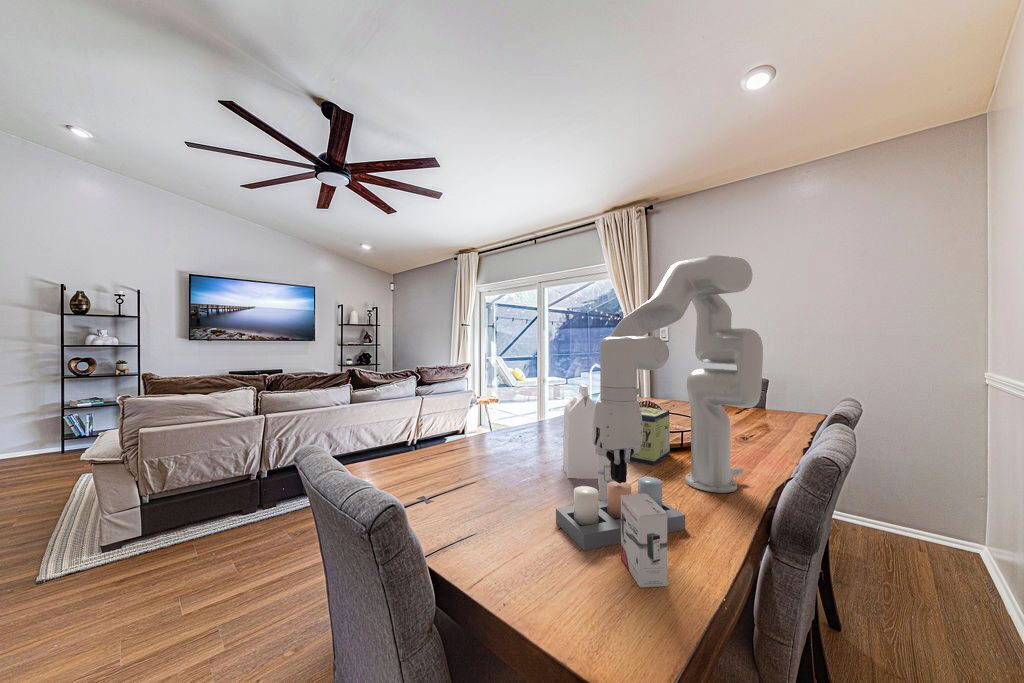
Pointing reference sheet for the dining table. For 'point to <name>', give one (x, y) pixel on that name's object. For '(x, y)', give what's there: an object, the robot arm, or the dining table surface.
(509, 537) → the dining table surface
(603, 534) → the gray compartment tray
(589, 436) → the milk
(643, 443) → the protein box
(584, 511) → the button cream
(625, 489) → the peach cylinder
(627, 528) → the ink box
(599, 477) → the ink cartridge box
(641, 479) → the button slate
